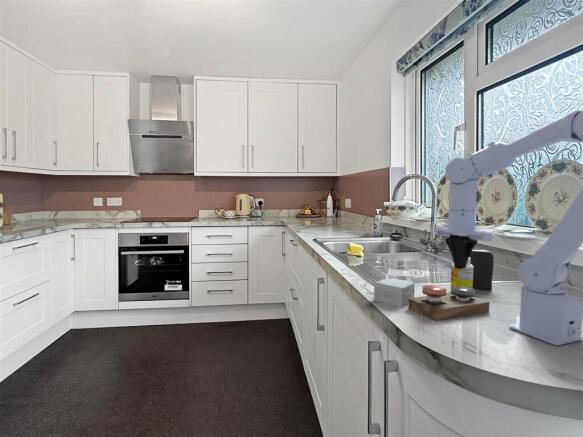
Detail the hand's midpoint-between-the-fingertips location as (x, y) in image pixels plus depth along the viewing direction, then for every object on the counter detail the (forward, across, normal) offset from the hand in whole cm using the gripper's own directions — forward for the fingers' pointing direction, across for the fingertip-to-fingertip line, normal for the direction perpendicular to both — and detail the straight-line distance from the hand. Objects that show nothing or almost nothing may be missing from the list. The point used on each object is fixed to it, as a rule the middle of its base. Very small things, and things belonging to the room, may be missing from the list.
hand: (460, 268), depth 83 cm
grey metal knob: (+10, +1, -2) cm, 10 cm away
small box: (+11, +12, +9) cm, 19 cm away
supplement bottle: (+10, +11, -13) cm, 20 cm away
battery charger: (+10, +13, -22) cm, 28 cm away
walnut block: (+10, +1, +2) cm, 11 cm away
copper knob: (+9, +1, +7) cm, 11 cm away
